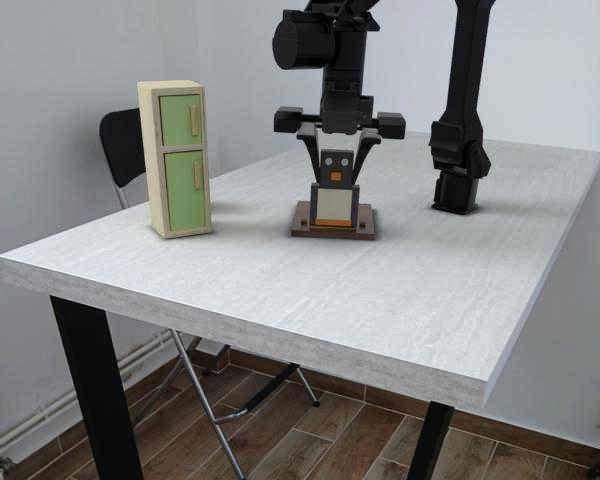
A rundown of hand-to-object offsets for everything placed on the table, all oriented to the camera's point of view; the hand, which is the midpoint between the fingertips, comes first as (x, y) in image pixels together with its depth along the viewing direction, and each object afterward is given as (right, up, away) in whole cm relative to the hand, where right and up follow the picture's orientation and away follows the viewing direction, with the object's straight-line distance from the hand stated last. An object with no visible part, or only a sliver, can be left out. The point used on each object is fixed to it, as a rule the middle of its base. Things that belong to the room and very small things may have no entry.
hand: (335, 183), depth 97 cm
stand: (0, -3, +10) cm, 10 cm away
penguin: (0, +1, +3) cm, 3 cm away
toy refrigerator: (-24, -6, +4) cm, 25 cm away
